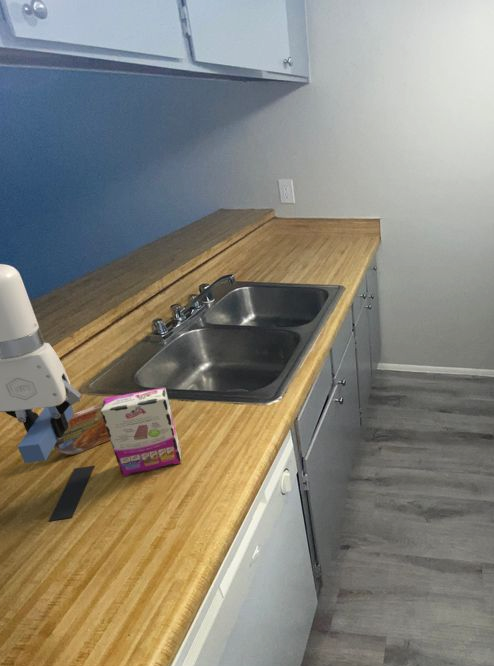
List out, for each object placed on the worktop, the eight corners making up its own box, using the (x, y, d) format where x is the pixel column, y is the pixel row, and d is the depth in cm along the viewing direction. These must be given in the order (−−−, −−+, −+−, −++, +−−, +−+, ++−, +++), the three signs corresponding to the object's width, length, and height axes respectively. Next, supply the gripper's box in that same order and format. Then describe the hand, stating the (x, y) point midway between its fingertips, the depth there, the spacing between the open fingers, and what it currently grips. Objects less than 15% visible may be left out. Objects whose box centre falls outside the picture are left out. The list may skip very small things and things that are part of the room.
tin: (59, 461, 98) (46, 429, 94) (54, 454, 100) (42, 422, 96) (135, 430, 108) (126, 399, 104) (130, 424, 110) (121, 394, 106)
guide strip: (48, 521, 85) (48, 520, 85) (74, 469, 97) (74, 468, 96) (71, 517, 86) (71, 517, 85) (94, 466, 97) (94, 465, 97)
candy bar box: (181, 449, 103) (166, 385, 95) (181, 463, 99) (166, 398, 91) (123, 462, 99) (102, 396, 91) (121, 477, 95) (99, 410, 87)
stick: (24, 463, 78) (17, 446, 76) (56, 414, 90) (50, 399, 88) (45, 460, 78) (38, 444, 77) (73, 412, 90) (68, 397, 89)
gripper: (-62, 358, 70) (-15, 455, 79) (64, 348, 74) (95, 441, 83) (-35, 336, 76) (6, 428, 85) (79, 328, 80) (107, 416, 89)
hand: (50, 433), depth 84 cm, fingers closed on stick, 3 cm apart
